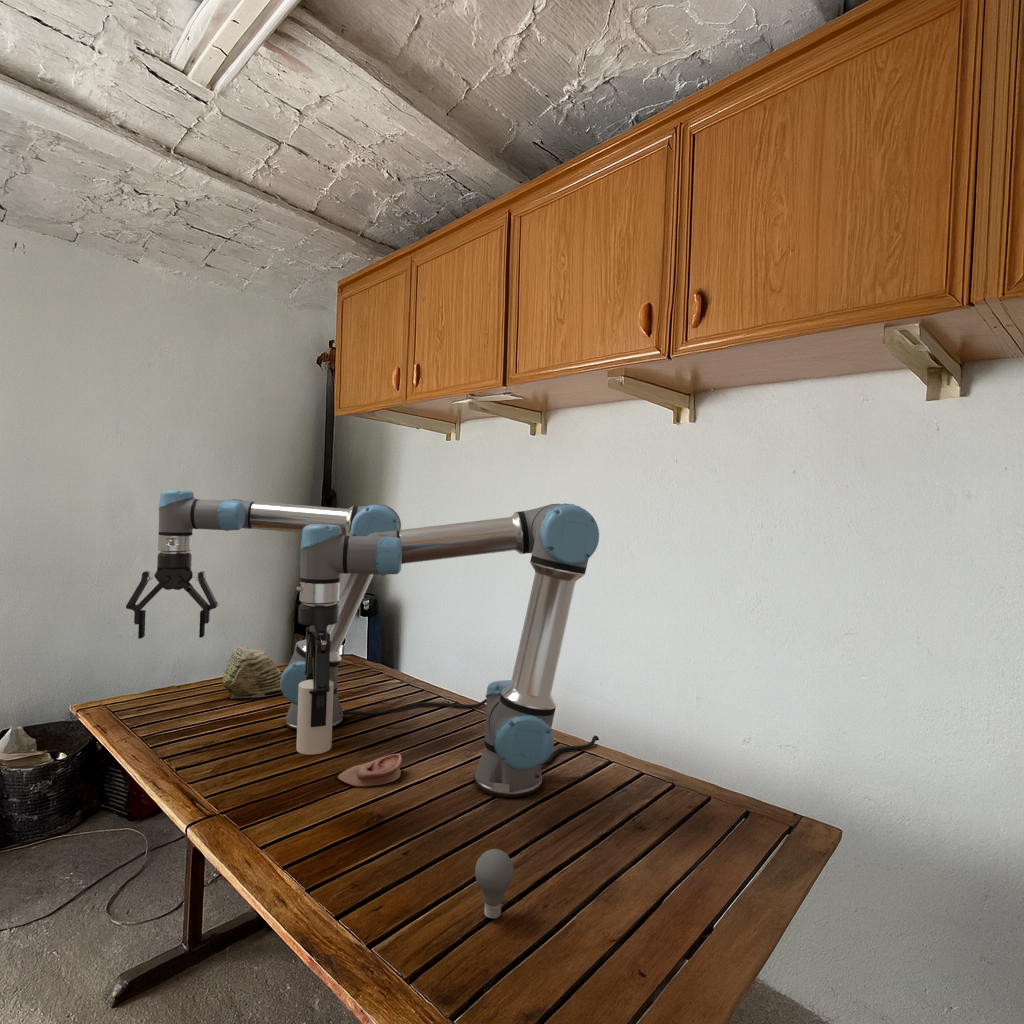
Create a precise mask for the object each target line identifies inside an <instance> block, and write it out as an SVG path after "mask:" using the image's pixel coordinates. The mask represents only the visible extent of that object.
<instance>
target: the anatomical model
mask: <svg viewBox="0 0 1024 1024" xmlns="http://www.w3.org/2000/svg"><path fill="white" fill-rule="evenodd" d="M402 761H403V757H402V754H400V753H393V754H389V755H385V756H382V757H378V758H376V759H373V760H371V761H368V762H364V763H362V764H358V765H354V766H352V767H349V768H347V769H346V770H344V771H342V772H340V773H339V774H338V776H337V779H338V780H339V781H341V782H343V783H345V784H346V785H349V786H350V785H351V786H353V787H372V786H380V785H385V784H390V783H393V782H395V781H397V780H398V779H399V778H400V776H401V775H402V773H401V772H402V771H401V768H400V767H401V765H402Z"/></svg>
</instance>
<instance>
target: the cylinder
mask: <svg viewBox="0 0 1024 1024" xmlns="http://www.w3.org/2000/svg"><path fill="white" fill-rule="evenodd" d="M329 687H330V690H329V692H327V704H326V726H318V727H311V699H312V694H309V691H313V679H311V680H306V681H302V682H300V683H299V685H298V716H297V731H296V745H295V746H296V749H295V750H296V752H297V753H299V754H301V755H308V756H309V755H313V756H314V755H319V754H320V755H321V754H325V753H327V752H328V751H330V750H331V749H332V747H333V746H332V744H333V743H332V742H333V729H332V718H333V689H334V683H333V681H331V680H329Z"/></svg>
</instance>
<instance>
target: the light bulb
mask: <svg viewBox="0 0 1024 1024" xmlns="http://www.w3.org/2000/svg"><path fill="white" fill-rule="evenodd" d="M514 874H515V867H514V863H513V861H512V859H511V857H510V856H509V855H508V854H507V853H506V852H505V851H503V850H501V849H498V848H491V849H487V850H486V851H484V852H483V853H482V854H481V855H480V856H479V857H478V859H477V861H476V863H475V867H474V876H475V880H476V882H477V884H478V886H479V888H480V890H481V893H482V899H483V901H484V910H483V911H484V912H483V914H484V916H485V917H487V918H489V919H498V918H499V917H501V914H502V903H503V901H504V898H505V893H506V891H507V890H508V888H509V887H510V885H511V883H512V882H513V879H514V876H515V875H514Z"/></svg>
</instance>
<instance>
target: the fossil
mask: <svg viewBox="0 0 1024 1024" xmlns="http://www.w3.org/2000/svg"><path fill="white" fill-rule="evenodd" d="M282 673H283V672H281V669H279V668H278V667H277V665H276V663H275V662H274V660H273V659H272V658H271V657H270V656H269V655H268V654H267V653H266V652H265V650H264V649H263V648H260V647H258V648H251V647H247V646H246V647H245V646H238V647H237V648H236V649H235V650H233V651H232V653H231V656H230V657H229V659H228V660H227V663H226V666H225V668H224V671H223V675H222V676H223V677H222V685H223V687H224V688H225V690H226V691H228V693H229V698H230V699H250V698H264V697H271V696H275V695H281V694H283V693H282V691H281V688H280V680H281V675H282Z"/></svg>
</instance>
